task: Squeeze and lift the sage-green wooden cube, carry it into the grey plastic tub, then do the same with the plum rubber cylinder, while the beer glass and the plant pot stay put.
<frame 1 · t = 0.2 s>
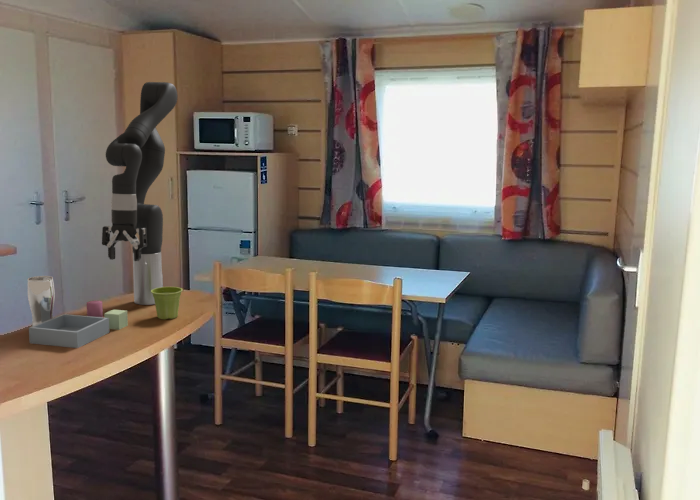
hand: (124, 260, 203), 17 cm above the table, tool pointing down, fingers open, 8 cm apart
tub: (70, 337, 180), on the table
beer glass: (43, 329, 187), on the table
plum cylinder: (95, 321, 196), on the table
sage block: (116, 327, 191), on the table
plant pot: (167, 317, 203), on the table
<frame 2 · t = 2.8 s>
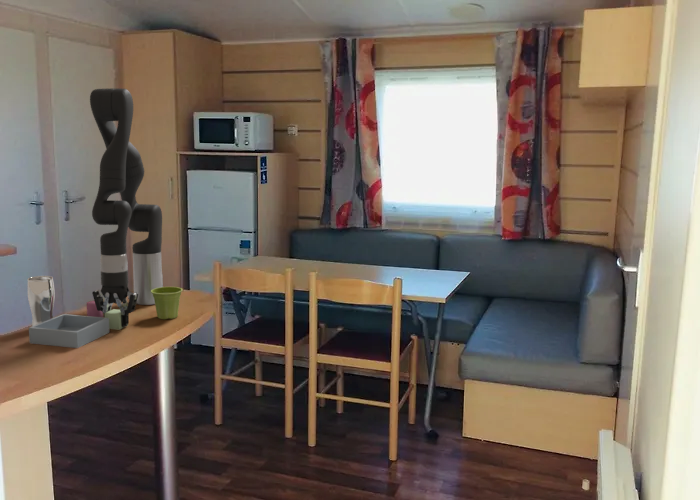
hand: (116, 325, 191), 0 cm above the table, tool pointing down, fingers closed on sage block, 4 cm apart
sage block: (116, 326, 191), on the table, touching gripper
everything else where it was.
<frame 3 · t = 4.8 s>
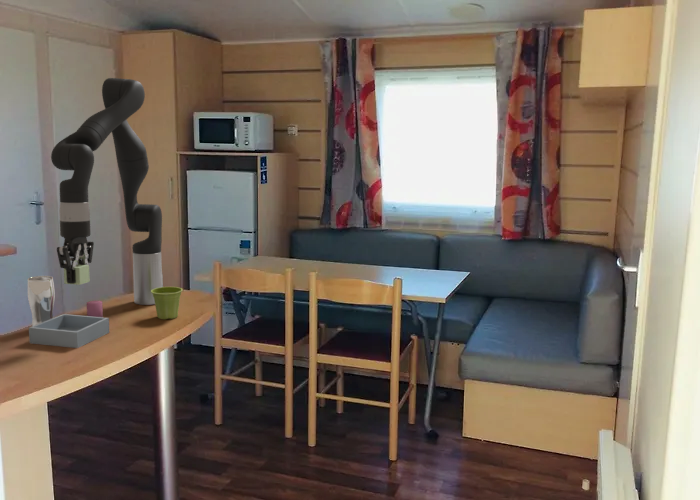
hand: (77, 281, 176), 16 cm above the table, tool pointing down, fingers closed on sage block, 4 cm apart
sage block: (77, 282, 176), point 16 cm above the table, touching gripper
everything else where it was.
when the fingers open (4 cm above the table, at t = 7.1 s): sage block drops 3 cm, resting on tub.
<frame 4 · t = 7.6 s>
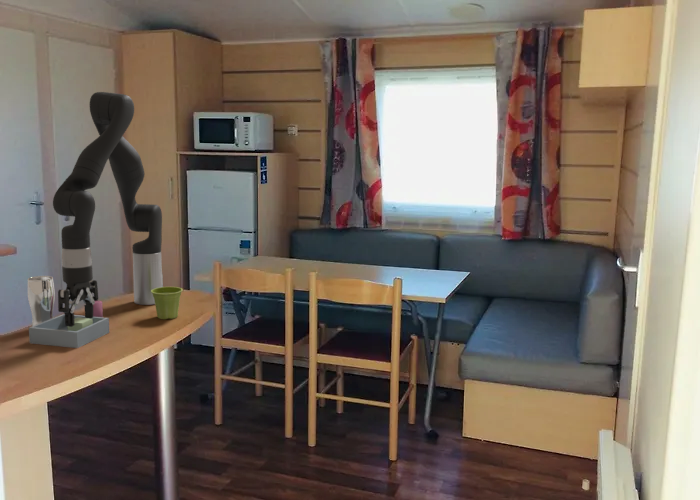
hand: (80, 321, 178), 5 cm above the table, tool pointing down, fingers open, 8 cm apart
sage block: (80, 336, 179), point 1 cm above the table, touching tub
everything else where it was.
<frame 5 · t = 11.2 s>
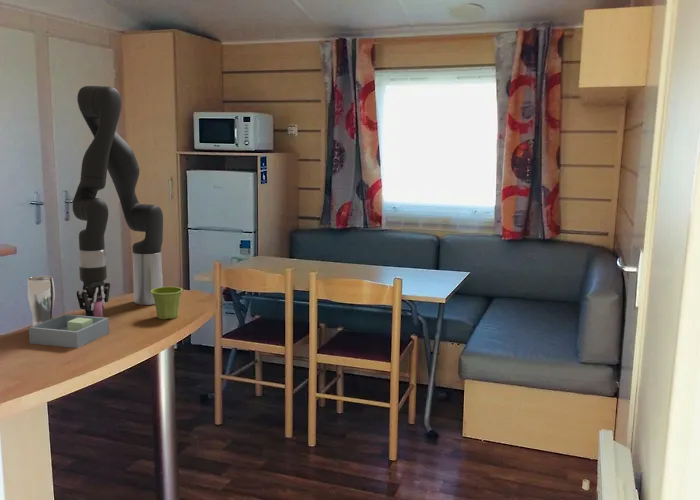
hand: (95, 319, 196), 1 cm above the table, tool pointing down, fingers closed on plum cylinder, 4 cm apart
plum cylinder: (95, 321, 196), on the table, touching gripper
everything else where it was.
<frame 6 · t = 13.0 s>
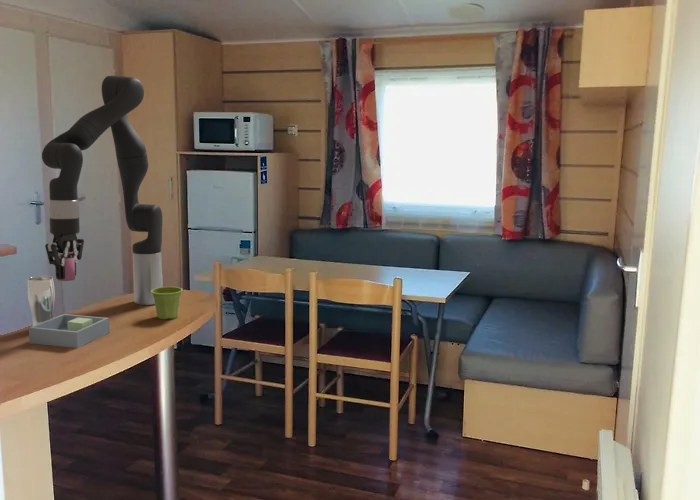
hand: (66, 277, 180), 16 cm above the table, tool pointing down, fingers closed on plum cylinder, 4 cm apart
plum cylinder: (66, 279, 180), point 16 cm above the table, touching gripper
everything else where it was.
when the fingers open (4 cm above the table, at t = 15.3 s): plum cylinder drops 2 cm, resting on tub.
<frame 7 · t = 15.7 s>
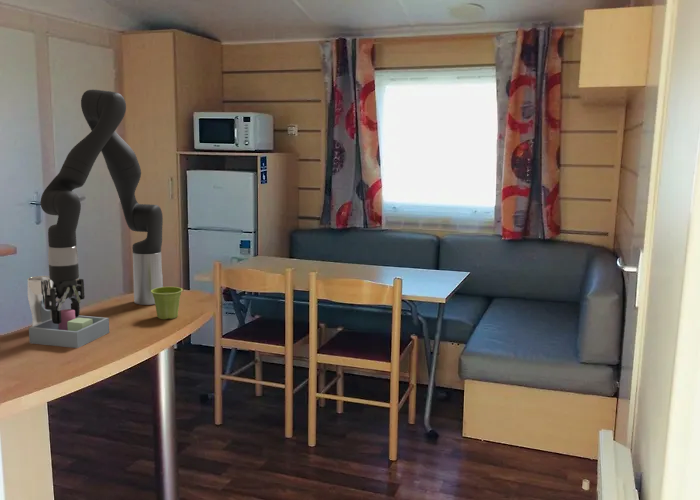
hand: (66, 319, 182), 4 cm above the table, tool pointing down, fingers open, 7 cm apart
plum cylinder: (67, 331, 182), point 1 cm above the table, touching tub
everything else where it was.
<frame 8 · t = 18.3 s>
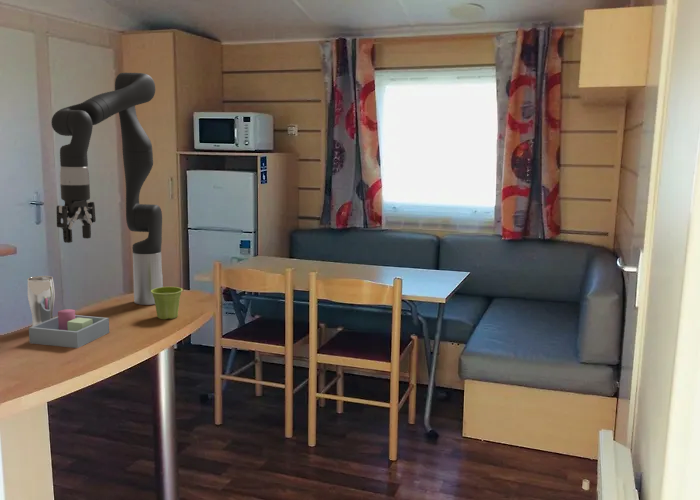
hand: (77, 240, 184), 26 cm above the table, tool pointing down, fingers open, 8 cm apart
nothing on the table moved.
at the end: sage block inside the target area on the tub (3.5 cm from its centre), point 0.8 cm above the tub's base; plum cylinder inside the target area on the tub (3.3 cm from its centre), point 0.8 cm above the tub's base; the gripper is holding nothing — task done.
